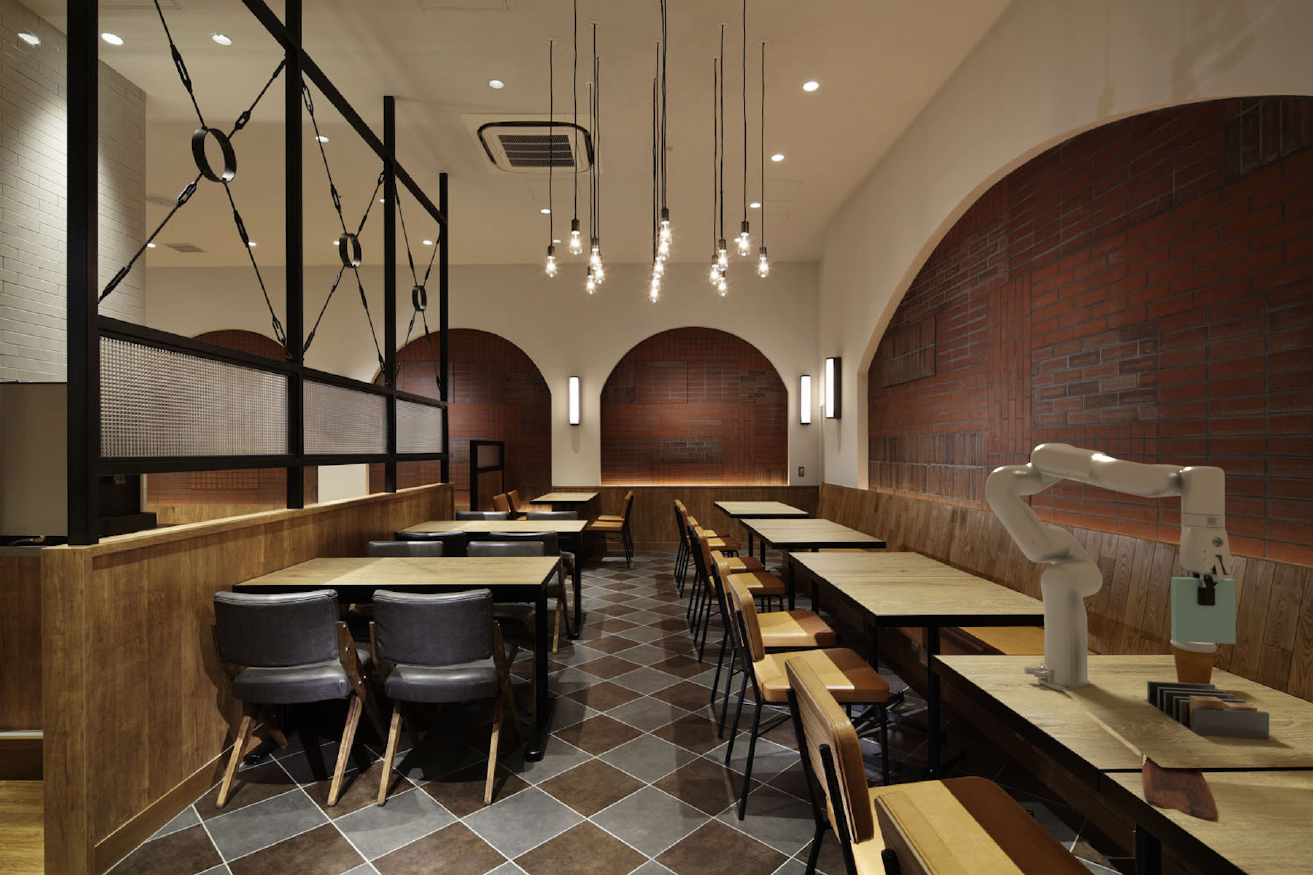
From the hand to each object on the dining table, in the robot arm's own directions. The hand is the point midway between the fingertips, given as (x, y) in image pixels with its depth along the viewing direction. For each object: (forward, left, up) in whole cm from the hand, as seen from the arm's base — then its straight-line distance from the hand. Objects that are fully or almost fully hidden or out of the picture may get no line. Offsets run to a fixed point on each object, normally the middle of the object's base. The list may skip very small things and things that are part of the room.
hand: (1202, 603), depth 147 cm
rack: (0, 0, -27) cm, 27 cm away
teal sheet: (0, 0, -8) cm, 8 cm away
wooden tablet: (-22, -28, -28) cm, 45 cm away
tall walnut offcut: (-3, -6, -26) cm, 26 cm away
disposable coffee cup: (+14, +27, -27) cm, 41 cm away
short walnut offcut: (+3, -6, -26) cm, 26 cm away
